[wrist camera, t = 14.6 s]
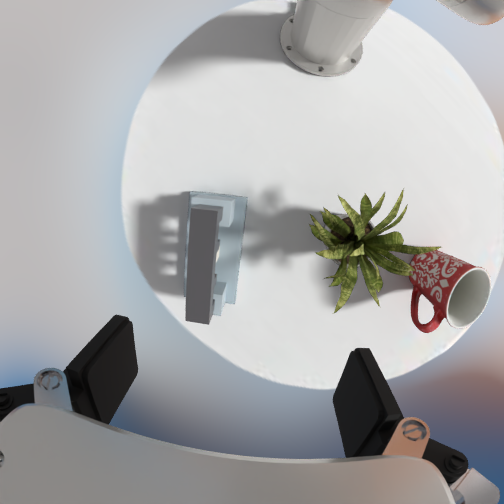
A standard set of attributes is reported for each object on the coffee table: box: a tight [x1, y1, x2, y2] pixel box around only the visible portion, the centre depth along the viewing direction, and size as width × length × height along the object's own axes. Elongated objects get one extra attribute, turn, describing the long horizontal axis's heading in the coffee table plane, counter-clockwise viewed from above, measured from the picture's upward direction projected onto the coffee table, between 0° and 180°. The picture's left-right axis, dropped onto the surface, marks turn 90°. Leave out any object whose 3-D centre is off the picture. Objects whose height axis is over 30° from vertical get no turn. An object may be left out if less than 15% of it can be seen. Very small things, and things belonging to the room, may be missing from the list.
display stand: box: [184, 191, 248, 316], centre depth 38 cm, size 16×8×7 cm, turn 173°
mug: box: [409, 250, 491, 333], centre depth 34 cm, size 13×9×14 cm
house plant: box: [309, 189, 441, 313], centre depth 31 cm, size 14×14×16 cm
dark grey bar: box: [186, 204, 223, 325], centre depth 33 cm, size 14×3×4 cm, turn 173°
